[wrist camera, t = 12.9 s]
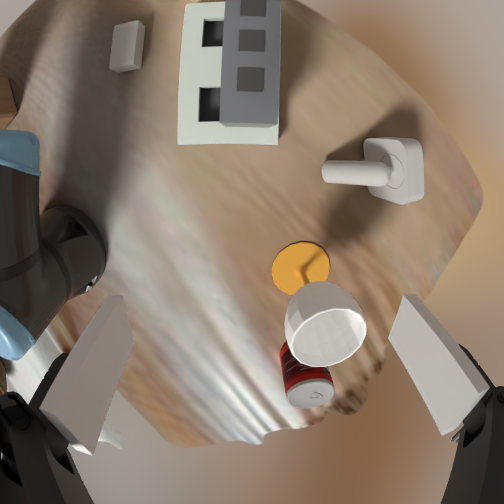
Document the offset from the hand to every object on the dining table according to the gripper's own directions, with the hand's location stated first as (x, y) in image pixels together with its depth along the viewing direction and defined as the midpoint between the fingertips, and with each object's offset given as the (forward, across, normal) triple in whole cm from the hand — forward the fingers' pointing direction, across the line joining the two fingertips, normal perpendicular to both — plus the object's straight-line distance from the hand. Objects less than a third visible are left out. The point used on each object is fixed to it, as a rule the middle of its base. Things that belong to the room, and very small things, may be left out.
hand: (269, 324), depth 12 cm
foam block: (+27, -17, +22) cm, 39 cm away
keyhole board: (+27, -3, +17) cm, 32 cm away
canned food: (+27, +10, -28) cm, 40 cm away
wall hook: (+27, +15, +5) cm, 31 cm away
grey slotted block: (+26, -1, +17) cm, 31 cm away
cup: (+27, +8, -11) cm, 30 cm away
